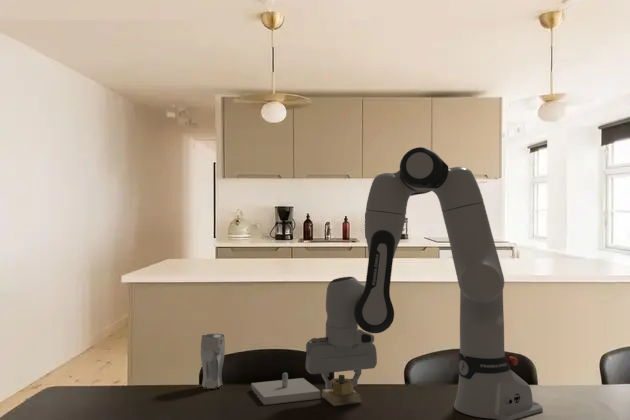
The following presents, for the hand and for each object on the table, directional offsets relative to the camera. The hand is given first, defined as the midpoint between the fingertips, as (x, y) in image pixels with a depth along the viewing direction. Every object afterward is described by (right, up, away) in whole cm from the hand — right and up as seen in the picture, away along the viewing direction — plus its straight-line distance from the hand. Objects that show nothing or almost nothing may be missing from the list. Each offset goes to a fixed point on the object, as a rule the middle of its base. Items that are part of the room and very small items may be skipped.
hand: (341, 387), depth 142 cm
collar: (0, -1, 0) cm, 1 cm away
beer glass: (-38, -4, +11) cm, 39 cm away
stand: (0, -3, 0) cm, 3 cm away
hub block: (-16, -4, +4) cm, 17 cm away
